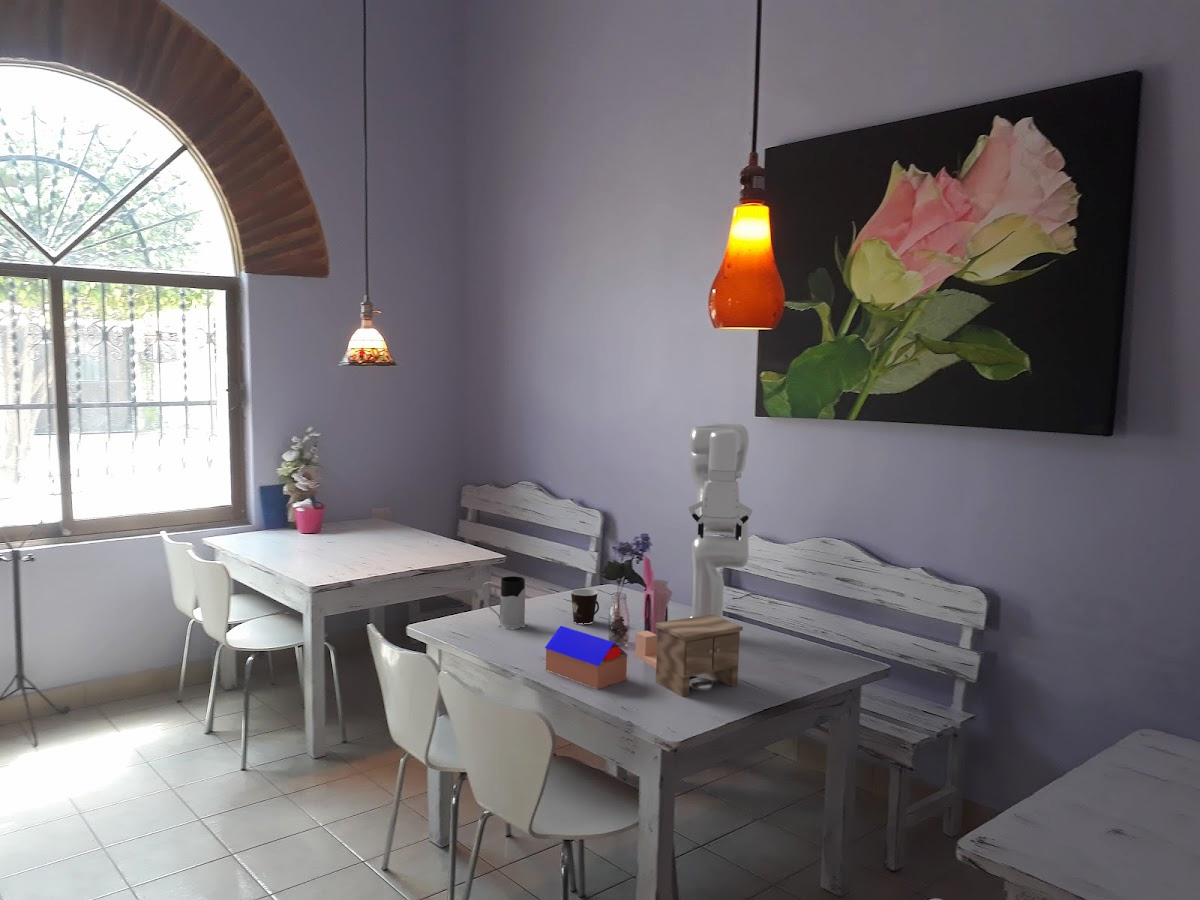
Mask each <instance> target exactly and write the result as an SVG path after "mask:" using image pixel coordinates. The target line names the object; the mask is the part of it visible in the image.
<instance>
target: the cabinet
mask: <svg viewBox="0 0 1200 900" xmlns="http://www.w3.org/2000/svg"><path fill="white" fill-rule="evenodd" d="M654 627H655V628H657V634H656V635H657V662H656V668H655V682H656V684H659V685H660V686H663V687H664V688H666V689H668V690H670V691H672V692H673V693H675V694H677V695H679V696H681V697H682V698H683V697H688V696H690V680H691V679H690V678H691V677H690V676H693V677H694V676H699V675H700V676H701V675H708V676H709V677H711V678H713V679H715V680H717V681H719V682H721V683H723V682H724V683H723V684H725V683H726V684H725V685H727V684H728V685H727V686H729V685H730V686H729V687H731V686H732V687H735V686H734V685H737V686H738V682H739V679H738V678H739V677H738V675H739V657H740V656H739V655H740V654H739V653H740V639H741V638H740V637H741V634H740V632H741V631H744V630H743V628H744V627H743V625H742V626H741V625H739V624H736V623H734V622H732V621H729V620H727V619H724V618H723V617H722V618H719V617H717V616H714V615H705V616H699V617H692V618H690V617H686V618H680V619H674V620H666V621H660V622H659V621H658V622H655V623H654Z"/></svg>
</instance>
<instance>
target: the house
mask: <svg viewBox="0 0 1200 900" xmlns="http://www.w3.org/2000/svg"><path fill="white" fill-rule="evenodd" d="M544 649H546V650H545V671H546V670H549V671H552V672H554V673H557V674H560V675H562V676H565V677H568V678H570V679H573V680H575V681H578V682H581V683H583V684H586V685H589V686H591V687H590V688H592V687H595V688H597V689H598V688H601V687H603V688H605V686H606V687H608V686H607V685H609V684H612V685H614V684H613V683H615V684H616V682H617V683H619V682H618V681H620V682H623V681H625V680H624V679H626V680H627V672H628V671H627V670H628V669H627V667H628V657H629V655H628V654H627V652H626V651H624V650H623V649H622V648H621V646H619V645H618V644H617V643H616V642H615V641H611V640H609V639H604V638H602V637H600V636H599V637H598V636H596V635H595V636H594V635H592V634H589V633H586V632H583V631H579V630H575V629H572V628H570V627H567V626H563V625H560V626H559V628H557V629H556V631H555V633H554V634H553V636H551V639H550V640H549V641H548V643H547V644H546V645H545V647H544ZM570 679H569V680H570ZM622 680H623V681H622ZM575 681H574V682H575ZM578 682H577V683H578ZM581 683H580V684H581ZM583 684H582V685H583ZM586 685H585V686H586ZM589 686H588V687H589ZM609 686H610V685H609ZM597 689H596V690H597ZM601 689H602V688H601ZM598 690H599V689H598Z"/></svg>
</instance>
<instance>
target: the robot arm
mask: <svg viewBox="0 0 1200 900" xmlns="http://www.w3.org/2000/svg"><path fill="white" fill-rule="evenodd" d="M749 440H750V439H749V433H748V429H747V428H746V427H745V426H744V425H743V424H737V423H710V424H709V423H708V424H707V425H704V426H694V427H692V428H691V430H690V433H689V440H688V442H689V448H690V451H691V452H690V453H689V469H690V474H691V478H692V480H693V484H694V486H695V489H696V503H694V504H692V505H690V506H688V510H689V513H690V515H691V517H692V519H694V520H695V522H696V525H697V536H698V537H696V538H695V539H694V540H693V542H692V544H691V556H692V569H693V571H692V572H693V573H692V576H693V577H692V579H693V581H692V582H693V583H692V602H691V603H692V605H691V610H692V611H691V616H690V617H689V618H692V617H699V616H705V615H714V616H717V617H719V618H722V619H723V616H724V614H723V613H724V610H723V609H724V591H725V589H724V587H725V582H724V579H723V576H722V575H721V573H720V572H719V571H718V569H717V568H730V569H732V568H733V569H735V568H739V569H741V568H743V567H746V566H747V564H748V561H749V548H750V547H749V519H750V518H751V517H750V516H752V514H753V509H752V508H750V507H749V506H747V505H745V504H744V503H741V502H740V488H739V481H737V479H741V478H742V473H743V471H744V470H745V467H746V464H747V462H746V461H747V457H748V456H747V455H748V452H749V451H748V450H749V444H750V441H749ZM704 533H707V534H708V533H709V534H723V535H726V534H727V535H731V536H721V535H704Z"/></svg>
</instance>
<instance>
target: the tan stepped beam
mask: <svg viewBox="0 0 1200 900" xmlns="http://www.w3.org/2000/svg"><path fill="white" fill-rule="evenodd" d="M634 650H635V653H634V654H635V658H636V657H637V658H639V659H640V660H641V661H643V662H644V663H646V664H647V665H650V666H651V667H653V668H655V669H656V662H657V634H655V633H653V632H652V631H649V630H643V631H637V632H635V649H634ZM692 677H694V676H690V678H692Z"/></svg>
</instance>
